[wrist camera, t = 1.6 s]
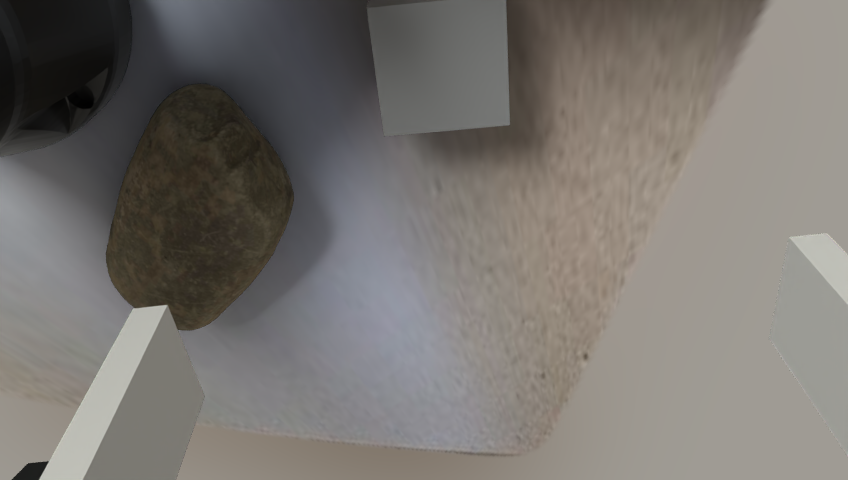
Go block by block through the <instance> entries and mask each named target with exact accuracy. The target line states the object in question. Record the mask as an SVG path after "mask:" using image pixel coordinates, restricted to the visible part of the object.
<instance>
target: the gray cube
mask: <svg viewBox="0 0 848 480" xmlns="http://www.w3.org/2000/svg"><path fill="white" fill-rule="evenodd" d="M367 16H368V23H369V30H370V38H371V45H372V53H373V60H374V67H375V75H376V82H377V89H378V97H379V104H380V112H381V119H382V126H383V134H384V137H385V136H396V135H407V134H418V133H429V132H440V131H452V130H463V129H474V128H485V127H496V126H507V125H510V111H509V78H508V44H507V11H506V0H368V4H367Z"/></svg>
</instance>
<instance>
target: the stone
mask: <svg viewBox="0 0 848 480" xmlns="http://www.w3.org/2000/svg"><path fill="white" fill-rule="evenodd" d="M293 201H294V194H293V189H292V186H291V182H290V179H289V176H288V174H287V171H286V169H285V168H284V166H283V163H282V162H281V160H280V158H279V156H278V154H277V153H276V151H275V150H274V149H273V147H272V146H271V145H270V144H269V142H268V141H267V140H266V139H265V138H264V137H263V135H262V134H261V133H260V132H259V131H258V129H257V128H256V127H255V126H254V125H253V123H252V122H251V121H250V120H249V119H248V118H247V117H246V115H245V114H244V113H243V112H242V110H241V109H240V108H239V107H238V105H237V104H236V103H235V102H234V101H233V100H232V99H231V98H230V97H229V96H228V95H227V94H226V93H225V92H224V91H222V90H221V89H219V88H217V87H215V86H212V85H208V84H192V85H187V86H185V87H182V88H180V89H178V90H176V91H175V92H173V93H172V94H170V95H169V96H168V97H167V98H166V99H165V100H164V101H163V102H162V103H161V104H160V105H159V107H158V108H157V110H156V111H155V113H154V114H153V116H152V118H151V120H150V122H149V124H148V126H147V128H146V130H145V132H144V134H143V136H142V137H141V139H140V142H139V144H138V146H137V148H136V151H135V153H134V155H133V157H132V159H131V161H130V164H129V166H128V168H127V171H126V174H125V176H124V179H123V182H122V186H121V189H120V193H119V197H118V201H117V206H116V210H115V214H114V218H113V221H112V224H111V229H110V235H109V241H108V245H107V250H106V263H107V268H108V273H109V276H110V278H111V281H112V283H113V285H114V286H115V288H116V289H117V290H118V292H119V293H120V294H121V296H122V297H123V298H124V299H125V300H126V301H127V302H128V303H129V304H130V305H132V306H133V307H134V308H144V307H153V306H162V305H168V307H169V310H170V312H171V315H172V317H173V320H174V322H175V325H176V327H177V329H178V330H194V329H198V328H200V327H203V326H206V325H208V324H210V323H211V322H212V321H213V320H215V319H216V318H217V317H218V316H219V315H220V314H221V313H222V312H223V311H224V310H225V309H226V308H227V307H228V306H229V305H230V304H231V303H232V302H233V301H235V300H236V299H237V298H238V297H239V296H240V295H241V294H242V293H243V292H244V291H245V289H246V288H247V287H248V286H249V285H250V284H251V283H252V282H253V281H254V279H255V278H256V277H257V275H258V274H259V273H260V272H261V270H262V269H263V268H264V266H265V265H266V263H267V262H268V261H269V259H270V258H271V256H272V255H273V253H274V251H275V248H276V246H277V244H278V242H279V240H280V238H281V236H282V235H283V233H284V230H285V228H286V225H287V222H288V219H289V216H290V213H291V210H292V206H293Z"/></svg>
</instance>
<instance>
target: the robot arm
mask: <svg viewBox="0 0 848 480" xmlns="http://www.w3.org/2000/svg"><path fill="white" fill-rule="evenodd" d="M131 41H132V23H131V13H130V6H129V1H128V0H0V157H3V156H7V155H12V154H17V153H21V152H26V151H30V150H35V149H39V148H42V147H46V146H48V145H51V144H54V143H56V142H58V141H60V140H62V139H64V138H66V137H68V136H70V135H71V134H73V133H74V132H76V131H77V130H79V129H80V128H81V127H83V126H84V125H85V124H86V123H87V122H88V121H89V120H90V119H91V118H93V117H94V116H95V115H96V114H97V113H98V112H99V111H100V110H101V109H102V108H103V107H104V106H105V105H106V104H107V103H108V102H109V100H110V99H111V98H112V96H113V95H114V93H115V92H116V90H117V89H118V87H119V85H120V83H121V81H122V79H123V76H124V74H125V71H126V68H127V65H128V61H129V56H130V51H131ZM769 340H770V341H771V343H772V344H773V346H774V347H775V349H776V350H777V351H778V353H779V355H780V356H781V358H782V359H783V361H784V362H785V364H786V365H787V366H788V368H789V369H790V371H791V373H792V374H793V376H794V377H795V379H796V380H797V382H798V383H799V384H800V386H801V388H802V389H803V390H804V392H805V393H806V395H807V396H808V398H809V399H810V401H811V402H812V404H813V405H814V407H815V408H816V410H817V411H818V413H819V414H820V416H821V417H822V419H823V420H824V422H825V423H826V425H827V426H828V428H829V429H830V431H831V432H832V434H833V435H834V437H835V438H836V440H837V441H838V443H839V444H840V446H841V447H842V449H843V450H844V452H845V453H846V455H847V456H848V254H847V253H846V252H845V251H844V250H843V249H842V248H841V247H840V246H839V245H838V244H837V243H836V242H835V241H834V240H833V239H832V238H831V237H830V236H829V235H828V234H827V233H822V234H813V235H805V236H795V237H789V239H788V244H787V250H786V255H785V259H784V265H783V270H782V275H781V280H780V285H779V290H778V296H777V300H776V306H775V311H774V316H773V321H772V326H771V332H770V336H769ZM204 397H205V396H204V393H203V391H202V388H201V386H200V383H199V381H198V378H197V376H196V374H195V371H194V369H193V366H192V364H191V361H190V359H189V356H188V354H187V352H186V349H185V347H184V344H183V342H182V339H181V337H180V334H179V332H178V329H177V327H176V325H175V322H174V320H173V317H172V315H171V312H170V310H169V307H168V305H162V306H153V307H144V308H135V309H132V311H131V313H130V315H129V317H128V319H127V320H126V322H125V324H124V326H123V328H122V330H121V331H120V333H119V335H118V337H117V339H116V340H115V342H114V344H113V346H112V348H111V350H110V351H109V353H108V355H107V357H106V359H105V361H104V362H103V364H102V366H101V368H100V370H99V371H98V373H97V375H96V377H95V379H94V381H93V382H92V384H91V386H90V388H89V390H88V392H87V393H86V395H85V397H84V399H83V401H82V402H81V404H80V406H79V408H78V410H77V412H76V414H75V415H74V417H73V419H72V421H71V423H70V424H69V426H68V428H67V430H66V432H65V433H64V435H63V437H62V439H61V441H60V443H59V445H58V446H57V448H56V450H55V452H54V454H53V456H52V457H51V459H50V461H47V462H38V463H28V464H27V465H26V466H25V467H24V468H23V469H22V470H21V471H20V472H19V473H18V474H17V475H16V476H15V477H14V478H13V479H12V480H176V478H177V475H178V472H179V469H180V467H181V464H182V461H183V458H184V455H185V452H186V449H187V446H188V443H189V441H190V437H191V435H192V432H193V429H194V426H195V423H196V420H197V417H198V415H199V412H200V409H201V406H202V403H203V400H204Z"/></svg>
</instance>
